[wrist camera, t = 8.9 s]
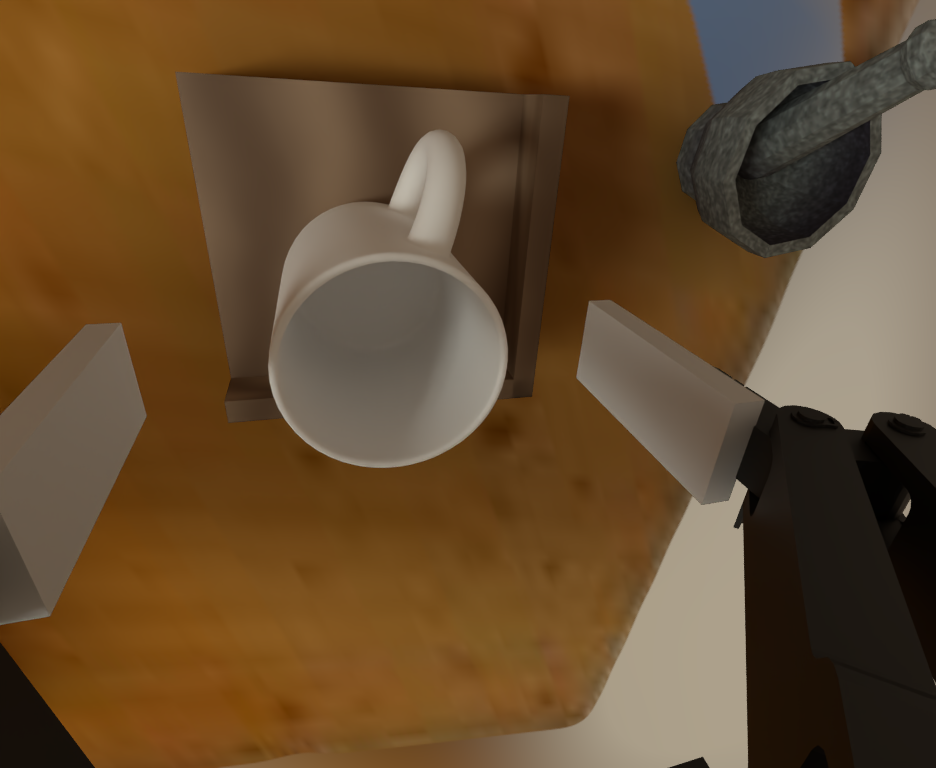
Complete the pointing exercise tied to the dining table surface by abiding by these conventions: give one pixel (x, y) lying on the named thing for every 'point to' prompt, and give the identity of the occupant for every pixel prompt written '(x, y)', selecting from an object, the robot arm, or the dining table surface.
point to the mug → (387, 323)
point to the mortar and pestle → (798, 145)
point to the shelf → (364, 196)
